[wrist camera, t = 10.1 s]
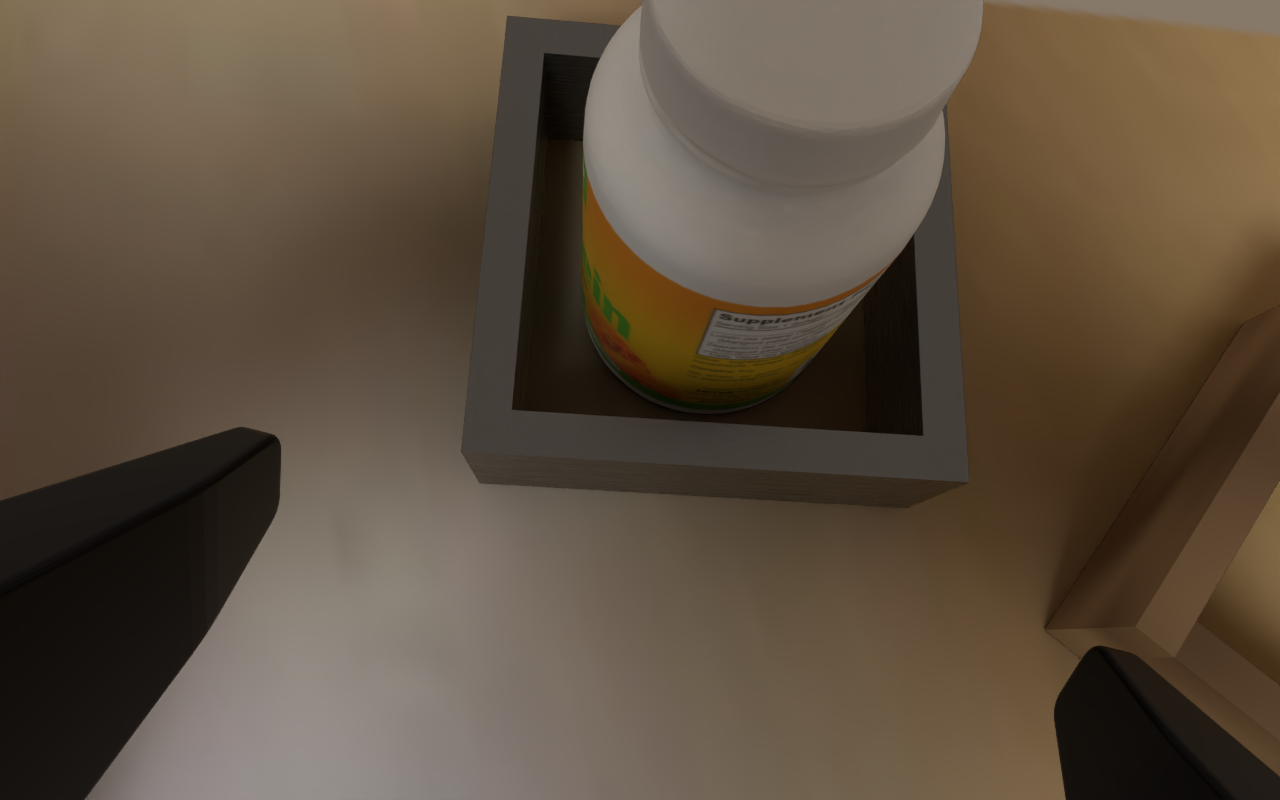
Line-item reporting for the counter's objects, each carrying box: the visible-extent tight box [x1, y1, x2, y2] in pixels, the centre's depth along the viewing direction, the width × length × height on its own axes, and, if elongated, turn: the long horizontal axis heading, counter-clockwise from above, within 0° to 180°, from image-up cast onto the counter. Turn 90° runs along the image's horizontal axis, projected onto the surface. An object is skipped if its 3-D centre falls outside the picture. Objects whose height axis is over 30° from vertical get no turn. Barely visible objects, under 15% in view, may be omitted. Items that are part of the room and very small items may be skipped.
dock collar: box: [461, 16, 969, 508], centre depth 18 cm, size 9×9×4 cm
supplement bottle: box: [581, 0, 983, 414], centre depth 15 cm, size 5×5×10 cm
